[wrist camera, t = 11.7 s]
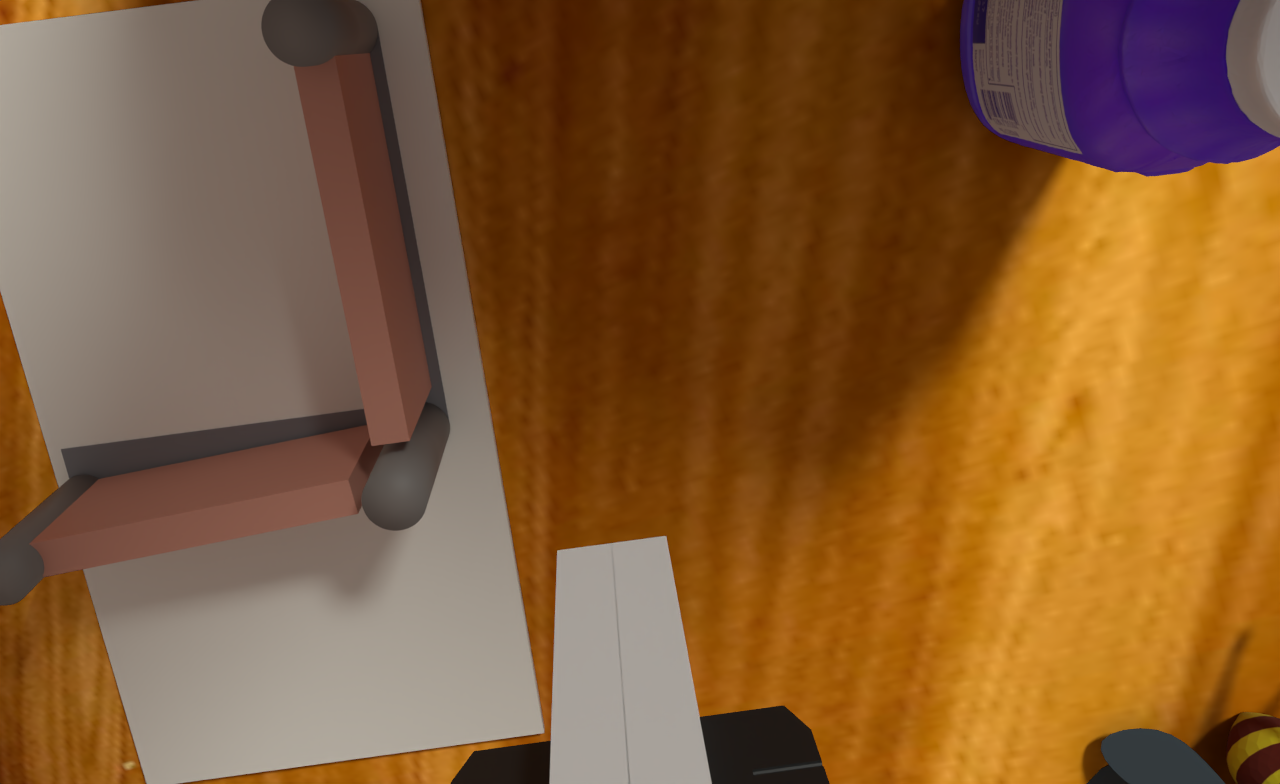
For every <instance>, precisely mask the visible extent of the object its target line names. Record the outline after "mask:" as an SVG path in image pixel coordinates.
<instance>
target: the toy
mask: <svg viewBox="0 0 1280 784" xmlns="http://www.w3.org/2000/svg"><path fill="white" fill-rule="evenodd" d="M1101 751H1102V753H1103V756H1104V758H1105V760H1106V761H1107V763H1108V764H1109V765H1108V766H1106V767H1104V768H1101V769H1100V770H1099V772H1098V773H1097V774H1096V775H1095V776H1094V777H1093V778H1092V779H1091V780H1090V781H1089V782H1088V783H1087V784H1225V783H1224V782H1223V780H1222V779H1221V778H1220V777H1219V776H1218V775H1217V773H1216V772H1215V771H1214V770H1213V769H1212V768H1211V767H1210V766H1209V765H1208V764H1207V763H1206V762H1205V761H1204V760H1203V759H1202V758H1201V757H1200V756H1199V755H1198V754H1197V753H1196V752H1195V751H1194V750H1193V749H1191V748H1190V747H1189V746H1188V745H1186V744H1185V743H1184V742H1182V741H1181V740H1179V739H1177V738H1176V737H1174V736H1172V735H1170V734H1167V733H1164V732H1161V731H1158V730H1152V729H1141V728H1139V729H1129V730H1123V731H1119V732H1116V733H1113V734H1110V735H1109V736H1108V737H1106V738H1105V739H1104V740H1103V741H1102V745H1101ZM1226 759H1227V764H1228V768H1229V771H1230V773H1231V776H1232V778H1233V780H1234V781H1235V782H1236V784H1280V719H1279V718H1276V717H1273V716H1270V715H1266V714H1261V713H1251V712H1242V713H1240V714H1239V716H1238V717H1237V719H1236V720H1235V722H1234V724H1233V726H1232V728H1231V730H1230V732H1229V735H1228V740H1227V746H1226Z"/></svg>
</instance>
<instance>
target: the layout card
mask: <svg viewBox="0 0 1280 784" xmlns="http://www.w3.org/2000/svg"><path fill="white" fill-rule="evenodd" d="M270 1H271V0H196V1H188V2H180V3H172V4H164V5H156V6H148V7H140V8H133V9H125V10H117V11H109V12H101V13H93V14H85V15H77V16H69V17H62V18H54V19H46V20H38V21H30V22H22V23H14V24H6V25H0V292H1V295H2V298H3V302H4V305H5V308H6V312H7V315H8V318H9V322H10V325H11V329H12V332H13V335H14V339H15V342H16V345H17V349H18V352H19V356H20V359H21V362H22V366H23V369H24V372H25V376H26V379H27V383H28V386H29V389H30V393H31V396H32V399H33V403H34V406H35V409H36V413H37V416H38V420H39V423H40V426H41V430H42V433H43V436H44V440H45V443H46V447H47V450H48V453H49V457H50V460H51V463H52V467H53V470H54V473H55V477H56V480H57V484H58V487H60V486H62V485H63V484H64V483H65V482H66V481H67V480H69V479H70V478H72V477H74V476H77V475H91V476H94V477H96V478H98V479H101V478H106V477H111V476H116V475H121V474H126V473H131V472H136V471H141V470H146V469H151V468H156V467H161V466H166V465H171V464H176V463H181V462H186V461H191V460H196V459H201V458H205V457H210V456H215V455H220V454H225V453H230V452H235V451H240V450H245V449H250V448H255V447H260V446H265V445H270V444H275V443H280V442H285V441H290V440H295V439H300V438H305V437H310V436H314V435H319V434H324V433H329V432H334V431H339V430H344V429H349V428H354V427H359V426H364V425H367V421H366V416H365V412H364V407H363V402H362V397H361V392H360V387H359V382H358V377H357V373H356V368H355V363H354V358H353V353H352V348H351V343H350V338H349V334H348V329H347V324H346V319H345V314H344V309H343V304H342V300H341V295H340V290H339V285H338V280H337V275H336V270H335V265H334V261H333V256H332V251H331V246H330V241H329V236H328V231H327V226H326V222H325V217H324V212H323V207H322V202H321V197H320V192H319V188H318V183H317V178H316V173H315V168H314V163H313V158H312V153H311V149H310V144H309V139H308V134H307V129H306V124H305V119H304V114H303V110H302V105H301V100H300V95H299V90H298V85H297V80H296V76H295V71H294V66H292V65H289V64H286V63H284V62H282V61H281V60H279V59H278V58H277V57H276V56H275V55H274V54H273V53H272V52H271V51H270V50H269V48H268V47H267V45H266V43H265V41H264V38H263V35H262V29H261V22H262V16H263V12H264V10H265V8H266V6H267V4H268V3H269V2H270ZM356 1H359V2H361V3H362V4H364V5H365V6H366V7H367V8H368V9H369V10H370V11H371V12H372V14H373V16H374V17H375V20H376V22H377V29H378V36H377V41H376V44H375V46H374V48H373V50H372V51H371V52H370V57H371V62H372V68H373V73H374V79H375V84H376V89H377V95H378V100H379V106H380V111H381V116H382V122H383V127H384V133H385V138H386V143H387V149H388V154H389V159H390V165H391V170H392V176H393V181H394V186H395V192H396V197H397V203H398V208H399V213H400V219H401V224H402V230H403V235H404V240H405V246H406V251H407V257H408V262H409V267H410V273H411V278H412V284H413V289H414V294H415V300H416V305H417V311H418V316H419V321H420V327H421V332H422V338H423V343H424V348H425V354H426V359H427V365H428V370H429V375H430V381H431V386H432V387H431V390H430V392H429V395H428V397H427V400H426V402H427V403H431V404H434V405H436V406H437V407H439V408H440V409H441V410H442V411H443V412H444V413H445V414H446V416H447V418H448V420H449V424H450V434H449V437H448V440H447V444H446V447H445V450H444V453H443V456H442V459H441V463H440V466H439V469H438V472H437V475H436V479H435V482H434V485H433V488H432V491H431V494H430V498H429V501H428V504H427V507H426V510H425V513H424V515H423V517H422V518H421V519H420V521H419V522H418V523H416V524H415V525H414V526H412V527H410V528H408V529H405V530H399V531H392V530H386V529H383V528H381V527H379V526H377V525H375V524H374V523H373V522H372V521H370V520H369V518H368V517H367V516H366V514H365V512H364V510H363V507H361V509H360V511H359V513H358V514H355V515H350V516H345V517H340V518H335V519H330V520H325V521H320V522H316V523H311V524H306V525H301V526H296V527H291V528H286V529H281V530H276V531H271V532H266V533H261V534H256V535H251V536H246V537H241V538H236V539H231V540H226V541H221V542H216V543H211V544H206V545H201V546H196V547H191V548H186V549H181V550H176V551H172V552H167V553H162V554H157V555H152V556H147V557H142V558H137V559H132V560H127V561H122V562H117V563H112V564H107V565H102V566H97V567H92V568H87V569H83V571H84V575H85V578H86V581H87V585H88V588H89V591H90V595H91V598H92V602H93V605H94V608H95V612H96V615H97V618H98V622H99V625H100V628H101V632H102V635H103V639H104V642H105V645H106V649H107V652H108V655H109V659H110V662H111V666H112V669H113V672H114V676H115V679H116V682H117V686H118V689H119V693H120V696H121V699H122V703H123V706H124V709H125V713H126V716H127V719H128V723H129V726H130V730H131V733H132V736H133V740H134V743H135V746H136V750H137V753H138V757H139V760H140V763H141V767H142V770H143V773H144V777H145V780H146V784H178V783H185V782H193V781H200V780H207V779H214V778H222V777H229V776H236V775H243V774H251V773H258V772H265V771H272V770H280V769H287V768H294V767H302V766H309V765H316V764H323V763H331V762H338V761H345V760H352V759H360V758H367V757H374V756H381V755H389V754H396V753H403V752H410V751H418V750H425V749H432V748H440V747H447V746H454V745H461V744H469V743H476V742H483V741H490V740H498V739H505V738H512V737H519V736H527V735H534V734H541V733H544V722H543V716H542V710H541V704H540V699H539V693H538V687H537V681H536V675H535V669H534V663H533V657H532V652H531V646H530V640H529V634H528V628H527V622H526V616H525V610H524V605H523V599H522V593H521V587H520V581H519V575H518V569H517V563H516V558H515V552H514V546H513V540H512V534H511V528H510V522H509V516H508V511H507V505H506V499H505V493H504V487H503V481H502V475H501V469H500V464H499V458H498V452H497V446H496V440H495V434H494V428H493V422H492V417H491V411H490V405H489V399H488V393H487V387H486V381H485V375H484V370H483V364H482V358H481V352H480V346H479V340H478V334H477V328H476V323H475V317H474V311H473V305H472V299H471V293H470V287H469V281H468V276H467V270H466V264H465V258H464V252H463V246H462V240H461V234H460V229H459V223H458V217H457V211H456V205H455V199H454V193H453V187H452V182H451V176H450V170H449V164H448V158H447V152H446V146H445V140H444V135H443V129H442V123H441V117H440V111H439V105H438V99H437V93H436V88H435V82H434V76H433V70H432V64H431V58H430V52H429V46H428V41H427V35H426V29H425V23H424V17H423V11H422V5H421V0H356Z"/></svg>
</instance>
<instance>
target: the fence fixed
mask: <svg viewBox="0 0 1280 784" xmlns="http://www.w3.org/2000/svg"><path fill="white" fill-rule="evenodd" d="M261 29H262V35H263V38H264V41H265V43H266V45H267V47H268V48H269V50H270V51H271V52H272V53H273V54H274V55H275V56H276V57H277V58H278V59H279V60H281V61H282V62H284V63H286V64H289V65H292V66H294V71H295V76H296V80H297V85H298V90H299V95H300V100H301V105H302V110H303V114H304V119H305V124H306V129H307V134H308V139H309V144H310V149H311V153H312V158H313V163H314V168H315V173H316V178H317V183H318V188H319V192H320V197H321V202H322V207H323V212H324V217H325V222H326V226H327V231H328V236H329V241H330V246H331V251H332V256H333V261H334V265H335V270H336V275H337V280H338V285H339V290H340V295H341V300H342V304H343V309H344V314H345V319H346V324H347V329H348V334H349V338H350V343H351V348H352V353H353V358H354V363H355V368H356V373H357V377H358V382H359V387H360V392H361V397H362V402H363V407H364V412H365V416H366V421H367V426H368V431H369V436H370V441H371V446H376V445H384V446H383V448H382V450H381V453H380V455H379V457H378V459H377V461H376V463H375V465H374V468H373V470H372V472H371V474H370V476H369V478H368V480H367V483H366V485H365V487H364V489H363V492H362V497H361V502H362V507H363V510H364V512H365V514H366V516H367V517H368V518H369V520H370V521H372V522H373V523H374V524H375V525H377V526H379V527H381V528H383V529H386V530H392V531H399V530H405V529H408V528H410V527H412V526H414V525H415V524H416V523H418V522H419V521H420V519H421V518H422V517H423V515H424V513H425V510H426V507H427V504H428V501H429V498H430V494H431V491H432V488H433V485H434V482H435V479H436V475H437V472H438V469H439V466H440V463H441V459H442V456H443V453H444V450H445V447H446V444H447V440H448V437H449V434H450V424H449V420H448V418H447V416H446V414H445V413H444V412H443V411H442V410H441V409H440V408H439V407H437V406H436V405H434V404H431V403H427V402H426V400H427V397H428V395H429V392H430V390H431V387H432V386H431V381H430V375H429V370H428V365H427V359H426V354H425V348H424V343H423V338H422V332H421V327H420V321H419V316H418V311H417V305H416V300H415V294H414V289H413V284H412V278H411V273H410V267H409V262H408V257H407V251H406V246H405V240H404V235H403V230H402V224H401V219H400V213H399V208H398V203H397V197H396V192H395V186H394V181H393V176H392V170H391V165H390V159H389V154H388V149H387V143H386V138H385V133H384V127H383V122H382V116H381V111H380V106H379V100H378V95H377V89H376V84H375V79H374V73H373V68H372V62H371V57H370V52H371V51H372V50H373V48H374V46H375V44H376V41H377V36H378V29H377V22H376V20H375V17H374V16H373V14H372V12H371V11H370V10H369V9H368V8H367V7H366V6H365V5H364V4H362V3H361V2H359V1H356V0H271V1H270V2H269V3H268V4H267V6H266V8H265V10H264V12H263V16H262V22H261Z"/></svg>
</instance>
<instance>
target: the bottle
mask: <svg viewBox="0 0 1280 784" xmlns="http://www.w3.org/2000/svg"><path fill="white" fill-rule="evenodd" d="M960 56H961V67H962V74H963V80H964V85H965V89H966V93H967V96H968V98H969V101H970V104H971V106H972V108H973V110H974V112H975V114H976V115H977V117H978V118H979V120H980V121H981V122H982V124H983V125H984V126H985V127H986V128H988V129H989V130H990V131H991V132H993V133H994V134H996V135H998V136H999V137H1001V138H1003V139H1005V140H1008V141H1010V142H1013V143H1017V144H1019V145H1022V146H1025V147H1031V148H1034V149H1037V150H1041V151H1044V152H1048V153H1052V154H1055V155H1059V156H1062V157H1066V158H1069V159H1072V160H1077V161H1081V162H1084V163H1087V164H1090V165H1093V166H1097V167H1101V168H1105V169H1108V170H1111V171H1114V172H1136V173H1139V174H1142V175H1144V176H1159V175H1167V174H1176V173H1182V172H1187V171H1189V170H1191V169H1193V168H1194V167H1197V166H1201V165H1204V164H1206V163H1208V162H1213V163H1223V164H1228V163H1231V162H1241V161H1245V160H1249V159H1252V158H1256V157H1258V156H1260V155H1262V154H1265V153H1267V152H1269V151H1271V150H1273V149H1275V148H1276V147H1278V146H1280V0H964V2H963V7H962V15H961V25H960Z"/></svg>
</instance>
